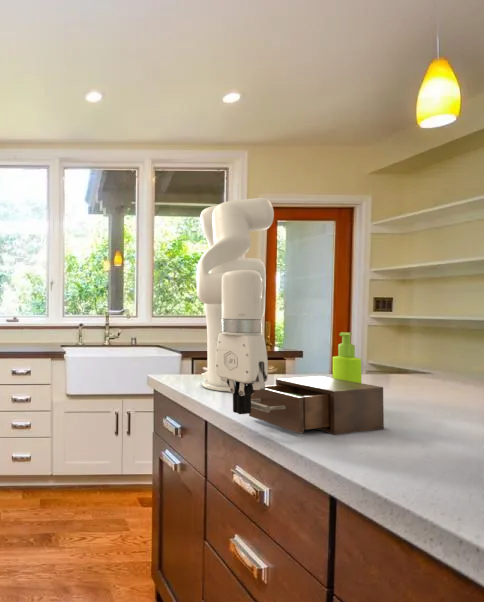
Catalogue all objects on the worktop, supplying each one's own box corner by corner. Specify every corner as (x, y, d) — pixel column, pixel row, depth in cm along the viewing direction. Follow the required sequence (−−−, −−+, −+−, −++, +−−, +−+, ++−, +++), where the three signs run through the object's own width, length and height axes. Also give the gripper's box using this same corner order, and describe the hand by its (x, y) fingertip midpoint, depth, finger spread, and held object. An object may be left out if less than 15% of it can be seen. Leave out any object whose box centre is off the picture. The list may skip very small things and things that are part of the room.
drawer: (277, 436, 74) (277, 399, 74) (229, 418, 86) (229, 386, 86) (347, 427, 79) (347, 393, 79) (293, 411, 91) (292, 382, 91)
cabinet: (334, 434, 77) (334, 391, 77) (276, 416, 90) (275, 379, 90) (383, 428, 81) (383, 387, 81) (321, 411, 94) (320, 375, 94)
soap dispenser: (330, 407, 98) (329, 332, 98) (335, 402, 103) (334, 331, 103) (359, 412, 94) (358, 333, 94) (363, 407, 98) (362, 332, 98)
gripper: (202, 326, 86) (202, 405, 85) (256, 330, 71) (257, 425, 71) (228, 325, 88) (229, 402, 87) (286, 329, 73) (287, 421, 73)
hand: (241, 412), depth 79 cm, fingers closed
